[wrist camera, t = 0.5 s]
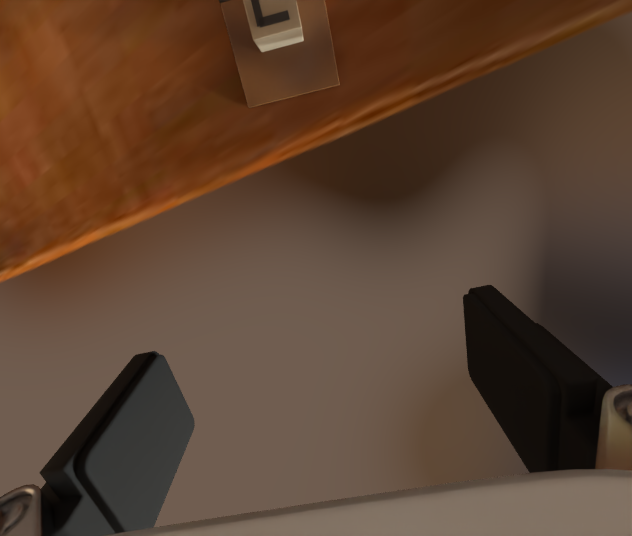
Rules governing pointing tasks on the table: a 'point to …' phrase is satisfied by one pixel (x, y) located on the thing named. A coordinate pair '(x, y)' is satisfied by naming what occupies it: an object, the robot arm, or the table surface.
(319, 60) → the letter board
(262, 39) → the tile
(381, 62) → the table surface
